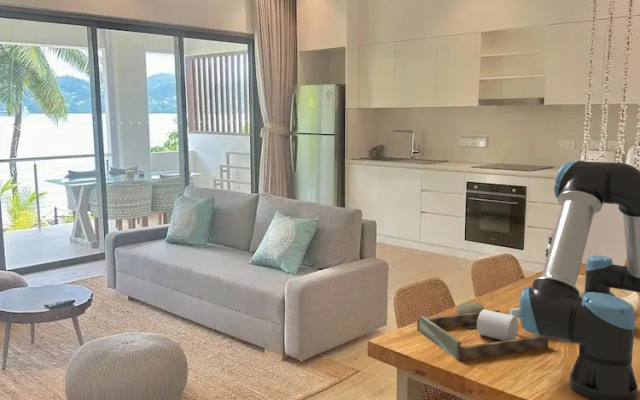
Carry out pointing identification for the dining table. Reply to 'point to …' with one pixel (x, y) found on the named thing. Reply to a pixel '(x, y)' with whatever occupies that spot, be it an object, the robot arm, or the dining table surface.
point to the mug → (497, 325)
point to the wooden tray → (453, 345)
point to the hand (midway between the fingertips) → (510, 313)
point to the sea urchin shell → (469, 308)
